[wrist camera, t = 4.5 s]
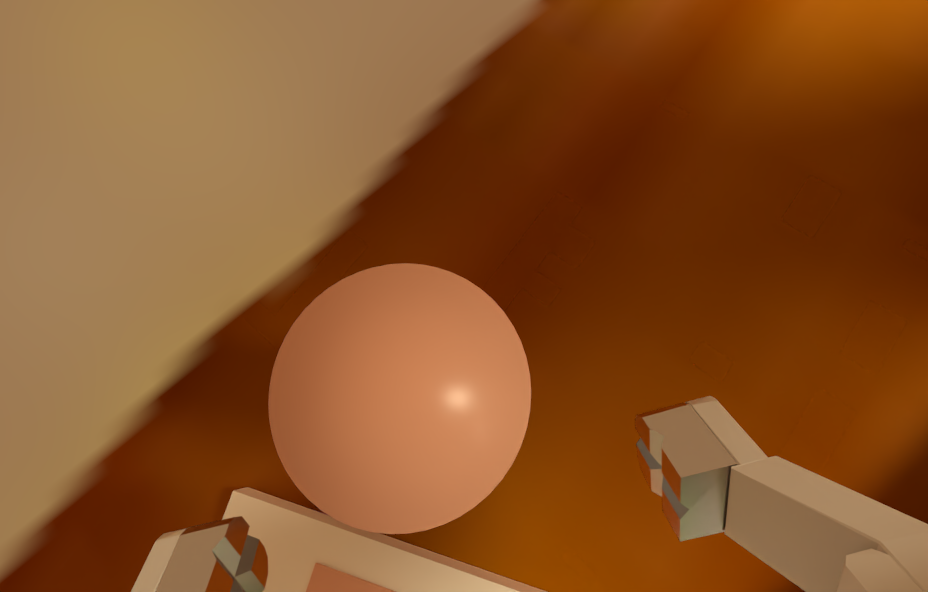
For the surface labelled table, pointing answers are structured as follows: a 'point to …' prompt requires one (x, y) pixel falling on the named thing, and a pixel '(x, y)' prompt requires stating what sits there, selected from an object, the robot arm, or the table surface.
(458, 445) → the marker
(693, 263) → the table surface
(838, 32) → the table surface
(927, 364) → the table surface
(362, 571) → the colouring board
